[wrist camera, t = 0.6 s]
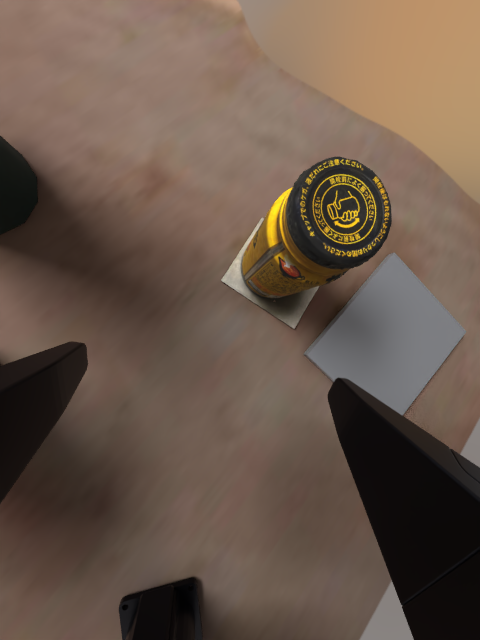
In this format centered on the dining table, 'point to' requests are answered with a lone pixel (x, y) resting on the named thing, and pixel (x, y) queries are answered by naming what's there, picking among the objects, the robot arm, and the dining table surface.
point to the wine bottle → (15, 188)
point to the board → (388, 336)
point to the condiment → (312, 237)
